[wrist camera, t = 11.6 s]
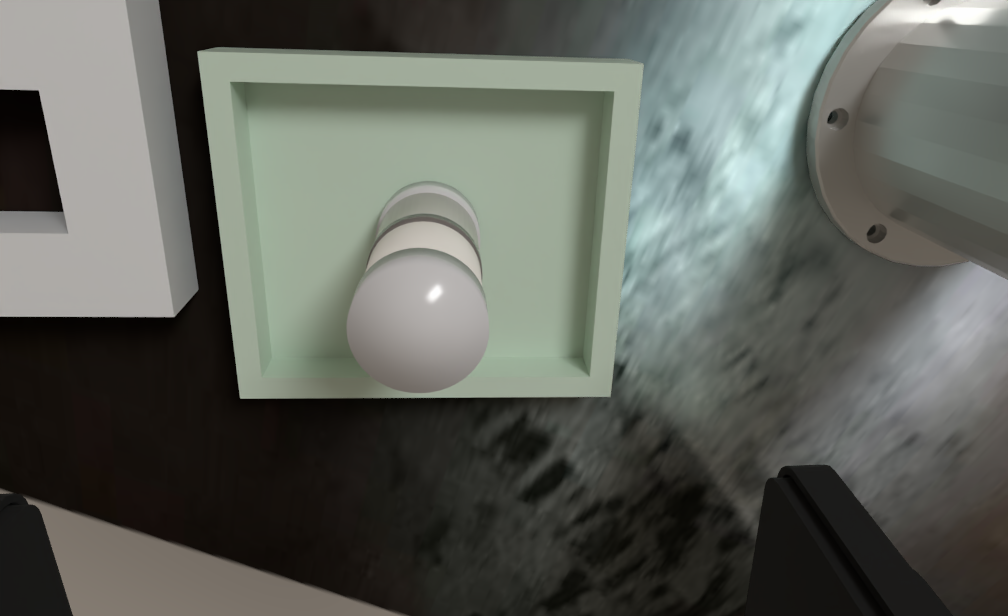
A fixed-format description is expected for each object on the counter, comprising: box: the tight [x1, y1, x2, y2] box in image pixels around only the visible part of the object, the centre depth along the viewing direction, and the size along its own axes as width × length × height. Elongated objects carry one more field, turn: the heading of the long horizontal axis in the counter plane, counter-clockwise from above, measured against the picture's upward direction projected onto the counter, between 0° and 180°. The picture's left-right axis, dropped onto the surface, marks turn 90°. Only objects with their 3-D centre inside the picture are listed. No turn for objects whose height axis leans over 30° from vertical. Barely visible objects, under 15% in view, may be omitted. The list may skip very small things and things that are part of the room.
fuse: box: [347, 181, 489, 393], centre depth 26 cm, size 4×4×10 cm
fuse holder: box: [0, 0, 198, 317], centre depth 28 cm, size 12×12×3 cm
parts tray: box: [197, 47, 644, 399], centre depth 30 cm, size 16×14×2 cm
